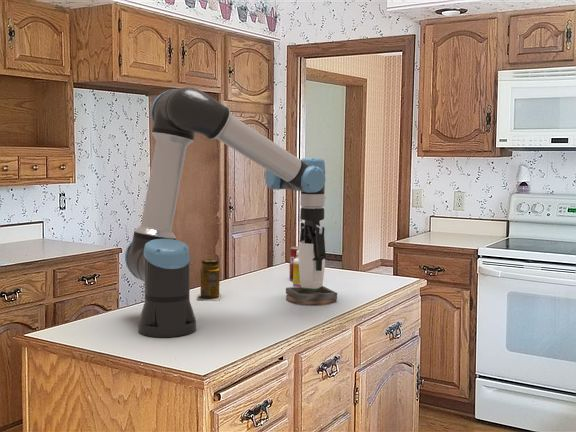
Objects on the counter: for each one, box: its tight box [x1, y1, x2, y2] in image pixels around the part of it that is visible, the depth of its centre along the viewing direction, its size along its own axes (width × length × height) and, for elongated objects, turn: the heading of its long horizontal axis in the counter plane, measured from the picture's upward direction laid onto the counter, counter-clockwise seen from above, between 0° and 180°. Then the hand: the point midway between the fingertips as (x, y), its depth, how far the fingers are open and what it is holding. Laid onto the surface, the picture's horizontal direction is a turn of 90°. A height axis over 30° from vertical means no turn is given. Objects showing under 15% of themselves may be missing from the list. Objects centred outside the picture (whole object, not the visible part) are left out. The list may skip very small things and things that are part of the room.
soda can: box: [288, 245, 299, 282], centre depth 247 cm, size 7×7×12 cm
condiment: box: [196, 258, 222, 301], centre depth 218 cm, size 7×8×12 cm
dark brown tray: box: [285, 285, 338, 306], centre depth 217 cm, size 16×16×3 cm
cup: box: [298, 241, 327, 290], centre depth 216 cm, size 7×7×15 cm
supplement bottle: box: [292, 251, 301, 287], centre depth 233 cm, size 7×7×13 cm
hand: (311, 277), depth 216 cm, fingers closed on cup, 9 cm apart
